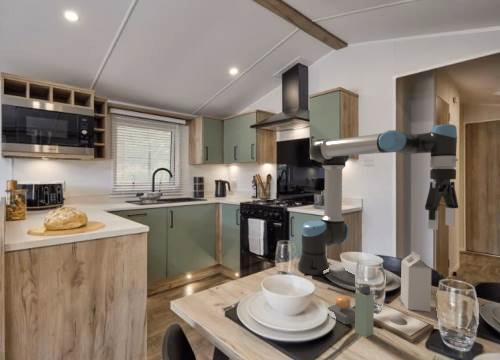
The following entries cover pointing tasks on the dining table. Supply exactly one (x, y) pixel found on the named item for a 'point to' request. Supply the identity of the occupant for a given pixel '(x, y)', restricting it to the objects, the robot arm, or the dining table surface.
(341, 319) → the button base
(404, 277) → the milk carton
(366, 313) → the green tall block
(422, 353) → the dining table surface
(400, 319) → the wooden tray
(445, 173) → the robot arm
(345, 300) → the button
